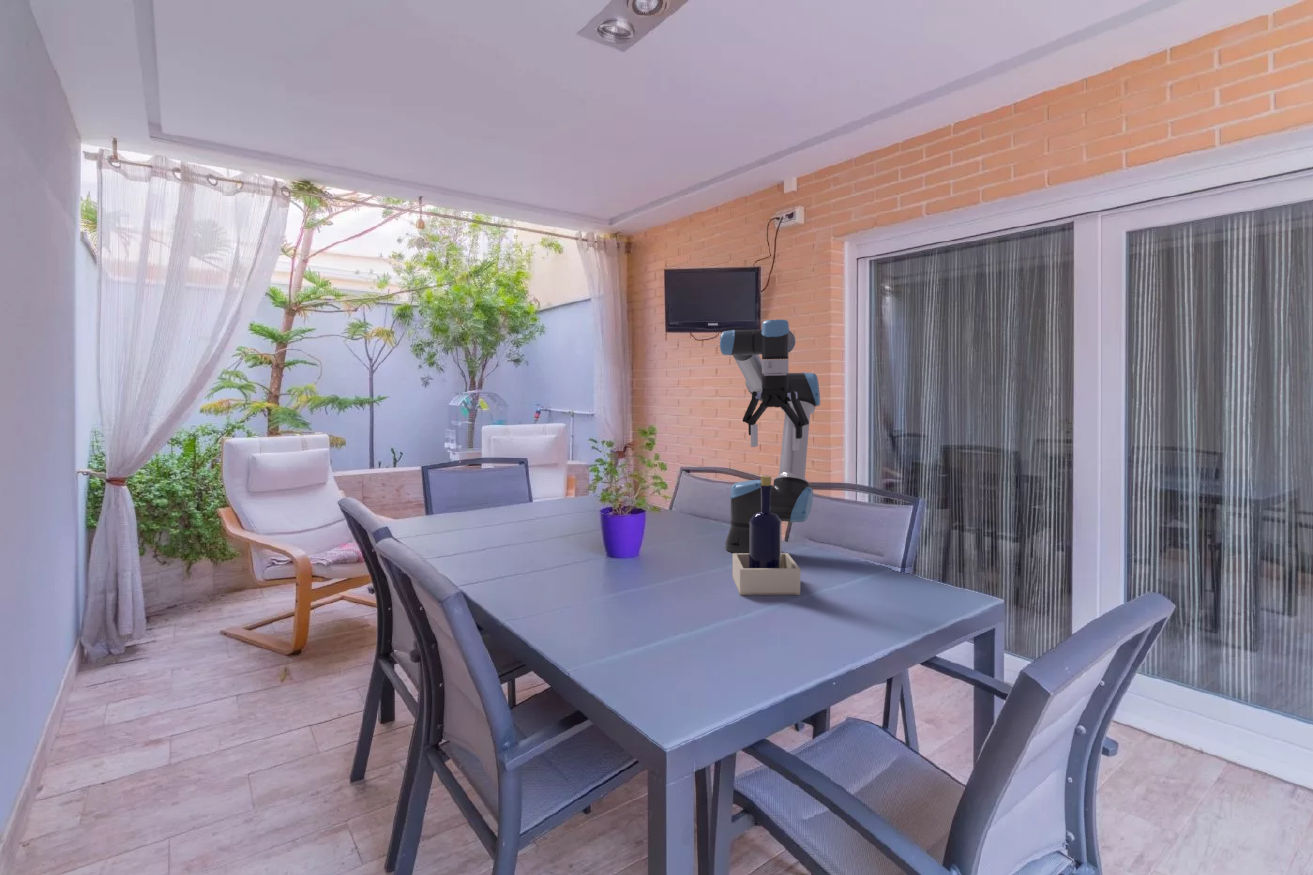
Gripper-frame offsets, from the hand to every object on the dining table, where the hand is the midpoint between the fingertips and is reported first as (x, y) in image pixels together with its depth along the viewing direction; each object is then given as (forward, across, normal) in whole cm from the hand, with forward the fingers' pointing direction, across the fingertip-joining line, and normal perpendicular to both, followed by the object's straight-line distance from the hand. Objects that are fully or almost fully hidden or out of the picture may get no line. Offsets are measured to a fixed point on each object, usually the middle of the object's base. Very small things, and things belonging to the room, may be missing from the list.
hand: (774, 448), depth 183 cm
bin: (+37, +4, -12) cm, 39 cm away
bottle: (+36, +4, -12) cm, 39 cm away
